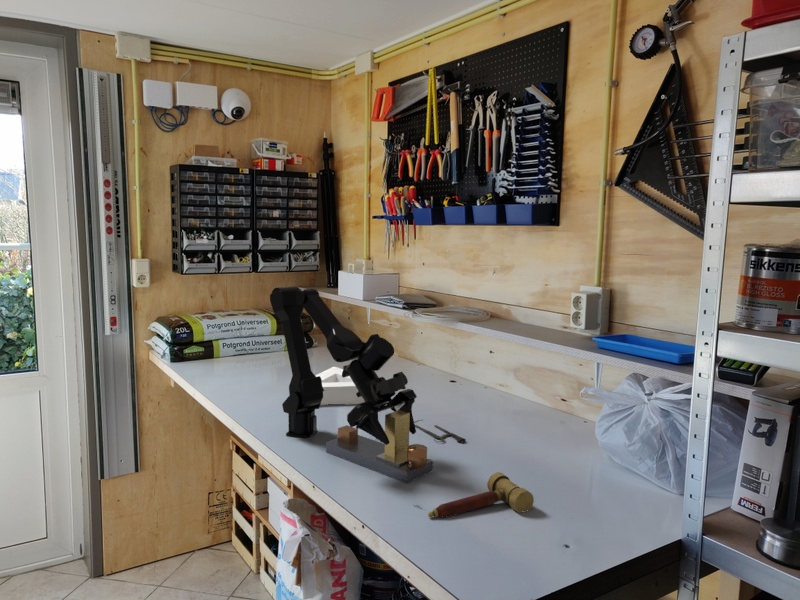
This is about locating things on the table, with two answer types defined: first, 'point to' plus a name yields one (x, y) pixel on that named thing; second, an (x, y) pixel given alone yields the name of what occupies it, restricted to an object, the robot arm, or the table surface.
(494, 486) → the gavel
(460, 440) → the bar clamp
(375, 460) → the plane body
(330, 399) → the triangle block
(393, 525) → the table surface
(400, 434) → the brushed brass block
